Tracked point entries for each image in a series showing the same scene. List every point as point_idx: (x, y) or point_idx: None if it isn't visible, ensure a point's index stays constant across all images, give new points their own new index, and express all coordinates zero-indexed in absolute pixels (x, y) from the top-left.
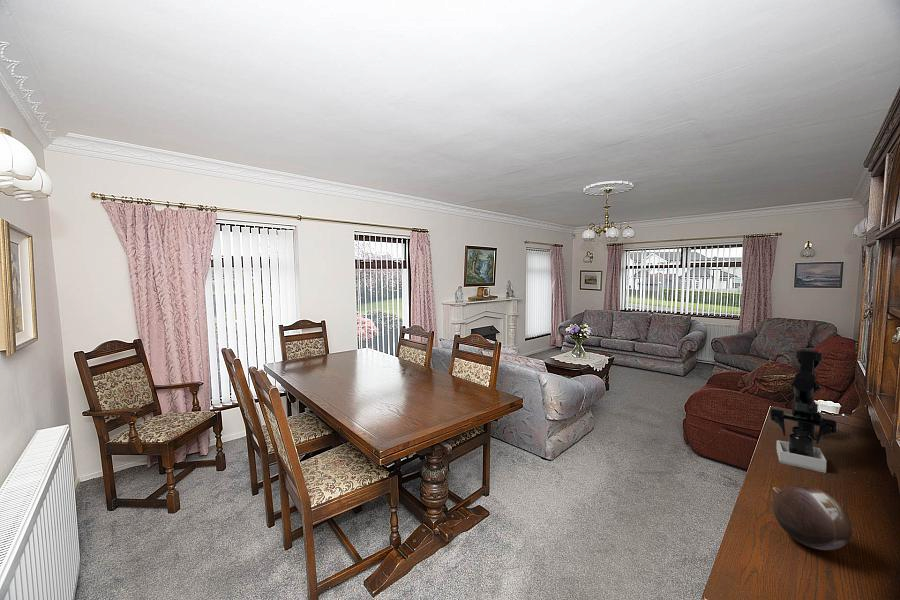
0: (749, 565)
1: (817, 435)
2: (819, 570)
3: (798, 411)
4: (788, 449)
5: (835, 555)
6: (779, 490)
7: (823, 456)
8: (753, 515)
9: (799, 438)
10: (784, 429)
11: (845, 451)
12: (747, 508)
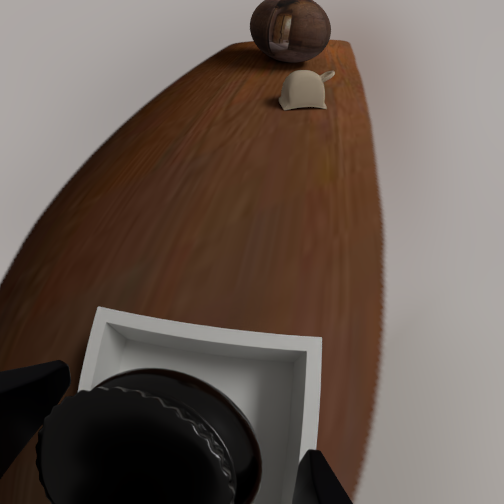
0: (336, 47)
1: (15, 386)
2: None
3: None
4: None
5: (263, 54)
6: (323, 79)
7: (83, 376)
8: (347, 81)
9: (188, 380)
10: (323, 495)
11: None
12: (357, 89)
